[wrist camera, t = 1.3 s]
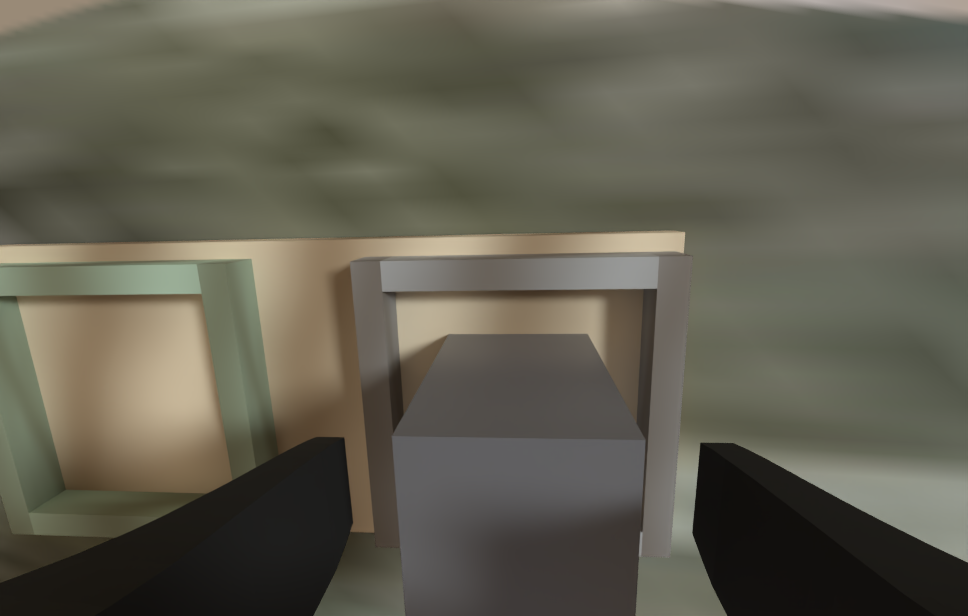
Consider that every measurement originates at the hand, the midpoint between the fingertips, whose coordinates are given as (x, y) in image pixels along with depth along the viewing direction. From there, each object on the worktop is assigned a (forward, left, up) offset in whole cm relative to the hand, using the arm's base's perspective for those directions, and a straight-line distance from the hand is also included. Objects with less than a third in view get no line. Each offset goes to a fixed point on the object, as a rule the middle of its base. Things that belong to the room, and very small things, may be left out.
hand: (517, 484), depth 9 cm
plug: (0, 0, -4) cm, 4 cm away
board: (-5, +4, -5) cm, 8 cm away
